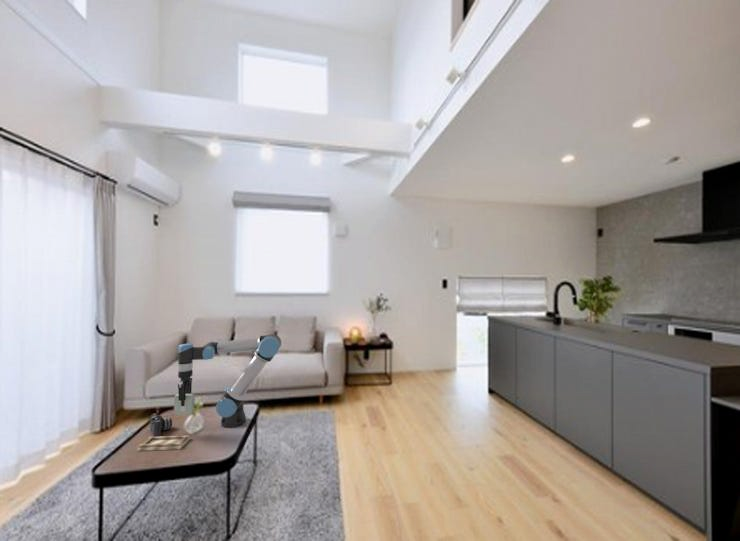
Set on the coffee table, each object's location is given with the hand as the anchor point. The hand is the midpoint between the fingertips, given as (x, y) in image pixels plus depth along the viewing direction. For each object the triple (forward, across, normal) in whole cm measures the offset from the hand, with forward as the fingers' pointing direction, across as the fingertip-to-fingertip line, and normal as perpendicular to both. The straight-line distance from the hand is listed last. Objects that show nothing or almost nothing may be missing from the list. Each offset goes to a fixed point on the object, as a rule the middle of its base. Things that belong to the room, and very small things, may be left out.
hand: (185, 409), depth 196 cm
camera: (+15, -5, -16) cm, 23 cm away
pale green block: (+2, 0, 0) cm, 2 cm away
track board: (+15, +12, -6) cm, 19 cm away
